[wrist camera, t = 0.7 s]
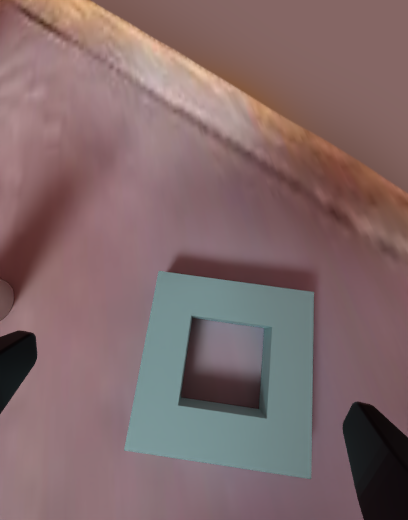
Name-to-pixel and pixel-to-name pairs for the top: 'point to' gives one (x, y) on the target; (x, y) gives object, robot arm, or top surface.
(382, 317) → the top surface
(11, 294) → the long pin
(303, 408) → the collar
